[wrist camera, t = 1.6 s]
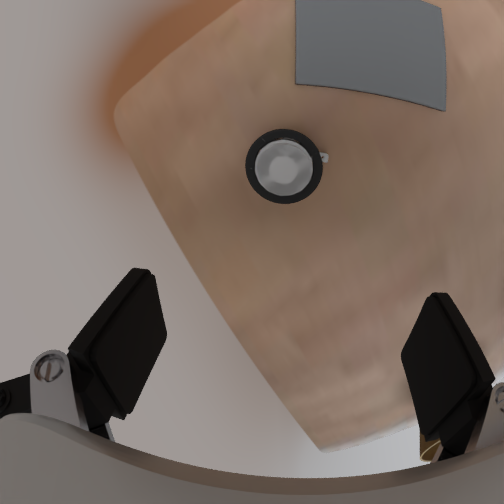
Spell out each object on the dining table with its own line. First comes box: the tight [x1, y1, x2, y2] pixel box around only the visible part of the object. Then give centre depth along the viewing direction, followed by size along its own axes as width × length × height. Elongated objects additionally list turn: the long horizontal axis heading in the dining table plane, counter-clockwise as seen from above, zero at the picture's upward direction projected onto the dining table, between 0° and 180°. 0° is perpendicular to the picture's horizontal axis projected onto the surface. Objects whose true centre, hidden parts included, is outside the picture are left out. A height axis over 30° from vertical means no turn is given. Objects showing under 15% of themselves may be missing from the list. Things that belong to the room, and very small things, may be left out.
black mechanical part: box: [245, 129, 328, 204], centre depth 22 cm, size 7×5×10 cm
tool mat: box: [296, 0, 446, 111], centre depth 19 cm, size 16×13×1 cm
